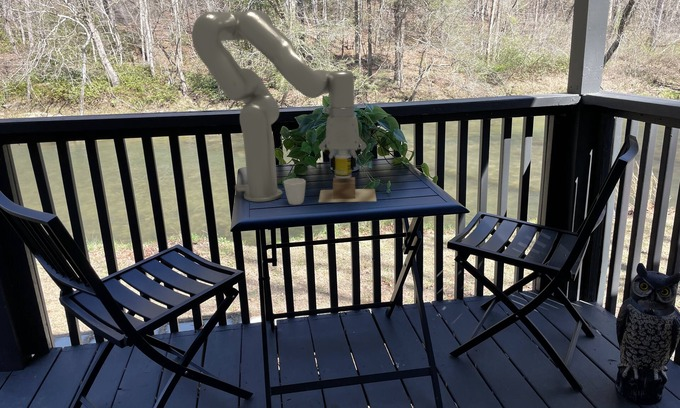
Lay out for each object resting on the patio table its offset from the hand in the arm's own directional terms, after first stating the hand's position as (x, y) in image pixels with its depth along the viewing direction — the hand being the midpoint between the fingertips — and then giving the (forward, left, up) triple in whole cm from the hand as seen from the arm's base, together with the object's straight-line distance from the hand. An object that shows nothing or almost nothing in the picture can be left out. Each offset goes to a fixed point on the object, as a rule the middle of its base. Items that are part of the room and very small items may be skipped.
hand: (343, 168), depth 167 cm
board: (+1, 0, -10) cm, 10 cm away
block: (0, 0, -9) cm, 9 cm away
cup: (-15, -5, -10) cm, 19 cm away
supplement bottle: (0, 0, -3) cm, 3 cm away
